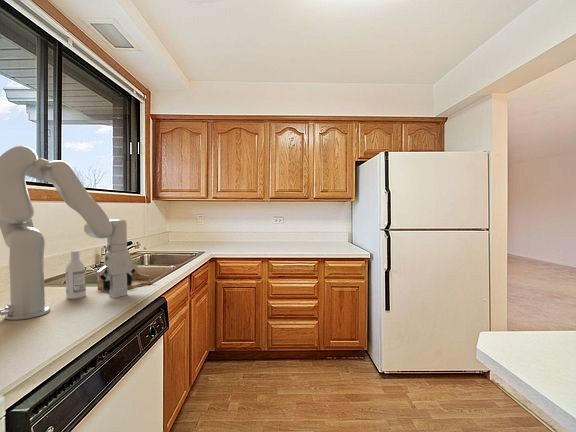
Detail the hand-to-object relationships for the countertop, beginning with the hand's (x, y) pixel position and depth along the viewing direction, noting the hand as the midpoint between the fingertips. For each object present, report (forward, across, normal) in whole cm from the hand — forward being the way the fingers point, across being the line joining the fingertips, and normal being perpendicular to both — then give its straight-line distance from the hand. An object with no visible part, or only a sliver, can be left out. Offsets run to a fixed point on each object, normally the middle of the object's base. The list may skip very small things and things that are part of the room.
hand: (118, 287), depth 137 cm
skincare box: (+4, 0, 0) cm, 4 cm away
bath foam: (+4, -10, +14) cm, 18 cm away
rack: (+4, +11, +12) cm, 17 cm away
